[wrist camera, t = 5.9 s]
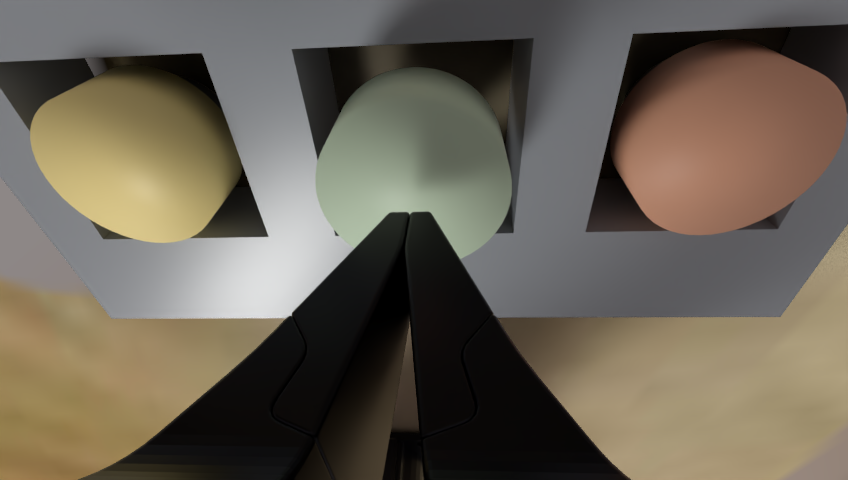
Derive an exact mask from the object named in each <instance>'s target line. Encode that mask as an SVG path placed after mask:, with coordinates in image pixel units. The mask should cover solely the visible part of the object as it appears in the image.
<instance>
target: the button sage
mask: <svg viewBox="0 0 848 480" xmlns="http://www.w3.org/2000/svg"><path fill="white" fill-rule="evenodd" d="M315 187H316V193H317V198H318V201H319V204H320V207H321V209H322V212H323V214H324V216H325V218H326V219H327V221H328V222H329V224H330V225H331V227H332V228H333V229H334V230H335V231H336V233H337V234H338V235H339V236H340V237H341V238H342V239H343V240H344V241H346V242H347V243H348V244H349V245H351V246H352V247H353V248H355V247H356V246H357V245H358V244H359V243H360V242H361V241H362V240H363V239H364V238H365V237H366V236H367V235H368V234H369V233H370V232H371V231H372V230H373V229H374V228H375V227H376V226H377V225H378V224H379V223H380V222H381V221H382V219H383V218H384V217H385V216H386V215H387V214H388V213H390V212H408V213H409V214H411V213H412V212H425V211H428V212H431V213H432V215H433V216H434V218H435V220H436V221H437V223H438V224H439V226H440V228H441V229H442V231H443V232H444V234H445V236H446V237H447V239H448V240H449V242H450V244H451V245H452V247H453V249H454V250H455V252H456V253H457V255H458V257H459V258H460V259H461V258H463V257H465V256H467V255H469V254H471V253H473V252H474V251H476V250H477V249H479V248H480V247H482V246H483V245H484V244H485V243H486V242H487V241H489V240H490V238H491V237H492V236H493V235H494V234H495V233H496V232H497V230H498V229H499V227H500V226H501V224H502V223H503V221H504V219H505V217H506V215H507V212H508V209H509V206H510V201H511V196H512V178H511V171H510V167H509V163H508V159H507V154H506V150H505V146H504V142H503V137H502V133H501V129H500V126H499V123H498V120H497V118H496V116H495V113H494V111H493V110H492V108H491V107H490V105H489V103H488V102H487V101H486V99H485V98H484V97H483V96H482V95H481V94H480V93H479V92H478V91H477V90H476V89H475V88H473V87H472V86H471V85H470V84H468V83H467V82H465V81H464V80H462V79H460V78H458V77H456V76H454V75H452V74H450V73H447V72H444V71H441V70H437V69H432V68H425V67H408V68H399V69H395V70H391V71H387V72H385V73H382V74H380V75H378V76H376V77H374V78H372V79H370V80H369V81H367V82H366V83H364V84H363V85H362V86H361V87H359V88H358V89H357V90H356V91H355V92H354V93H353V94H352V95H351V96H350V98H349V99H348V100H347V102H346V103H345V105H344V106H343V108H342V110H341V112H340V114H339V116H338V118H337V120H336V122H335V124H334V126H333V128H332V130H331V132H330V134H329V136H328V138H327V140H326V143H325V145H324V147H323V149H322V151H321V153H320V156H319V159H318V162H317V166H316V174H315Z"/></svg>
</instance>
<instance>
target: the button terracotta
mask: <svg viewBox="0 0 848 480" xmlns="http://www.w3.org/2000/svg"><path fill="white" fill-rule="evenodd" d="M846 121H847V111H846V104H845V101H844V98H843V96H842V93H841V92H840V90H839V89H838V87H837V86H836V85H835V84H834V83H833V82H832V81H831V80H830V79H829V78H828V77H826V76H825V75H823V74H821V73H819V72H818V71H816V70H813V69H811V68H809V67H807V66H805V65H803V64H800V63H798V62H796V61H794V60H792V59H790V58H788V57H785V56H783V55H781V54H779V53H777V52H775V51H772V50H770V49H768V48H766V47H764V46H762V45H759V44H756V43H753V42H751V41H745V40H738V39H725V40H715V41H710V42H706V43H702V44H699V45H696V46H693V47H690V48H688V49H685V50H683V51H681V52H679V53H677V54H675V55H673V56H672V57H670V58H668V59H666V60H664V61H662V62H660V63H658V64H656V65H655V66H653V67H652V68H650V69H649V70H648V71H646V72H645V73H644V74H643V75H642V76H641V77H640V78H639V79H638V80H637V81H636V82H635V83H634V85H633V86H632V87H631V89H630V90H629V92H628V94H627V95H626V97H625V100H624V102H623V104H622V105H621V107H620V109H619V111H618V113H617V115H616V117H615V120H614V123H613V126H612V130H611V136H610V152H611V158H612V161H613V164H614V166H615V168H616V170H617V172H618V173H619V175H620V176H621V178H622V180H623V181H624V183H625V184H626V186H627V187H628V189H629V191H630V192H631V194H632V195H633V197H634V199H635V200H636V202H637V203H638V205H639V207H640V208H641V210H642V211H643V212H644V214H645V215H646V216H647V217H648V218H649V219H650V220H651V221H652V222H653V223H655V224H657V225H658V226H660V227H662V228H664V229H666V230H669V231H672V232H676V233H680V234H687V235H712V234H718V233H724V232H728V231H732V230H736V229H739V228H742V227H746V226H748V225H751V224H753V223H756V222H758V221H761V220H763V219H765V218H766V217H768V216H770V215H772V214H774V213H776V212H777V211H779V210H781V209H782V208H784V207H786V206H787V205H788V204H790V203H791V202H793V201H794V200H796V199H797V198H798V197H799V196H800V195H802V194H803V193H804V192H805V191H806V190H807V189H808V188H809V187H810V186H812V185H813V184H814V183H815V182H816V181H817V179H818V178H819V177H820V176H821V175H822V174H823V172H824V171H825V170H826V169H827V167H828V166H829V164H830V163H831V161H832V160H833V158H834V157H835V155H836V153H837V151H838V149H839V147H840V144H841V142H842V139H843V137H844V133H845V128H846Z"/></svg>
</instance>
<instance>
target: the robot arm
mask: <svg viewBox="0 0 848 480" xmlns="http://www.w3.org/2000/svg"><path fill="white" fill-rule="evenodd" d="M409 322H410V327H411V339H412V350H413V362H414V373H415V385H416V397H417V408H418V420H419V431H420V434H399V433H390V432H391V426H392V421H393V415H394V409H395V403H396V398H397V392H398V386H399V380H400V375H401V369H402V363H403V357H404V352H405V346H406V340H407V334H408V329H409ZM78 480H631V479H630V478H628V477H627V476H626V475H625V474H623V473H622V472H621V471H620V470H619V469H618V468H617V467H616V466H615V465H613V464H612V463H611V462H610V461H609V460H608V459H607V458H606V457H605V455H604V454H603V453H602V452H601V451H600V450H599V449H598V448H597V446H596V445H595V444H594V443H593V442H592V441H591V439H590V438H589V437H588V436H587V435H586V433H585V432H584V431H583V430H582V429H581V427H580V426H579V425H578V424H577V423H576V421H575V420H574V419H573V418H572V417H571V415H570V414H569V413H568V412H567V411H566V409H565V408H564V407H563V406H562V405H561V403H560V402H559V401H558V400H557V398H556V397H555V396H554V395H553V394H552V392H551V391H550V390H549V389H548V388H547V386H546V385H545V384H544V383H543V382H542V380H541V379H540V378H539V377H538V375H537V374H536V373H535V372H534V370H533V369H532V368H531V367H530V365H529V364H528V363H527V361H526V360H525V359H524V358H523V356H522V355H521V354H520V352H519V351H518V349H517V348H516V346H515V345H514V344H513V342H512V341H511V339H510V338H509V336H508V335H507V333H506V332H505V330H504V329H503V327H502V325H501V324H500V322H499V321H498V319H497V317H496V316H495V315H494V313H493V311H492V310H491V308H490V306H489V305H488V303H487V302H486V300H485V298H484V297H483V295H482V294H481V292H480V290H479V289H478V287H477V286H476V284H475V282H474V281H473V279H472V277H471V276H470V274H469V273H468V271H467V269H466V268H465V266H464V265H463V263H462V261H461V260H460V258H459V257H458V255H457V253H456V252H455V250H454V249H453V247H452V245H451V244H450V242H449V240H448V239H447V237H446V236H445V234H444V232H443V231H442V229H441V228H440V226H439V224H438V223H437V221H436V220H435V218H434V216H433V215H432V213H431V212H428V211H425V212H412V213H411V214H409V213H408V212H390V213H388V214H387V215H386V216H385V217H384V218H383V219H382V221H381V222H380V223H379V224H378V225H377V226H376V227H375V228H374V229H373V230H372V231H371V232H370V233H369V234H368V235H367V236H366V237H365V238H364V239H363V240H362V241H361V242H360V243H359V244H358V245H357V246H356V247H355V248H354V249H353V250H352V251H351V252H350V253H349V254H348V256H347V257H346V258H345V259H344V260H343V261H342V262H341V263H340V264H339V265H338V266H337V267H336V268H335V269H334V270H333V271H332V272H331V273H330V274H329V275H328V276H327V277H326V278H325V279H324V280H323V281H322V282H321V283H320V284H319V285H318V286H317V287H316V288H315V289H314V291H313V292H312V293H311V294H310V295H309V296H308V297H307V298H306V299H305V300H304V301H303V302H302V303H301V304H300V305H299V306H298V307H297V308H296V309H295V310H294V311H293V312H292V316H288V317H287V318H286V319H285V320H284V321H283V322H282V323H281V324H280V325H279V326H278V327H277V328H276V329H275V330H274V331H273V332H272V333H271V334H270V335H269V336H268V337H267V338H266V339H265V340H264V341H263V342H262V343H261V344H260V345H259V346H258V347H257V348H256V349H255V350H254V351H253V352H252V353H251V354H249V355H248V356H247V357H246V358H245V359H244V360H243V361H242V362H240V363H239V364H238V365H237V366H236V367H235V368H234V369H233V370H231V371H230V372H229V373H228V374H227V375H226V376H225V377H223V378H222V379H221V380H220V381H219V382H218V383H216V384H215V385H214V386H213V387H212V388H211V389H209V390H208V391H207V392H206V393H205V394H203V395H202V396H201V397H200V398H199V399H198V400H196V401H195V402H194V403H193V404H192V405H191V406H189V407H188V408H187V409H186V410H185V411H184V412H182V413H181V414H180V415H179V416H178V417H176V418H175V419H174V420H173V421H172V422H171V423H169V424H168V425H167V426H166V427H165V428H164V429H162V430H161V431H160V432H159V433H158V434H156V435H155V436H154V437H153V438H151V439H150V440H149V441H148V442H146V443H145V444H144V445H142V446H141V447H140V448H138V449H137V450H135V451H134V452H132V453H131V454H129V455H128V456H126V457H124V458H123V459H121V460H119V461H118V462H116V463H114V464H112V465H110V466H108V467H106V468H104V469H102V470H100V471H98V472H96V473H93V474H91V475H88V476H86V477H83V478H81V479H78Z"/></svg>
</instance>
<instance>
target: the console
mask: <svg viewBox="0 0 848 480" xmlns="http://www.w3.org/2000/svg"><path fill="white" fill-rule="evenodd" d="M773 27H792V28H791V30H790V32H789V34H788V36H787V39H786V41H785V43H784V45H783V48H782V50H781V52H780V54H781V55H783V56H785V57H788V58H790V59H792V60H794V61H796V62H798V63H800V64H803V65H805V66H807V67H809V68H811V69H813V70H816V71H818V72H819V73H821V74H823V75H825V76H826V77H828V78H829V79H830V80H831V81H832V82H833V83H834V84H835V85H836V86H837V87H838V89H839V90H840V92H841V93H842V96H843V98H844V101H845V104H846V111H847V121H846V128H845V133H844V137H843V139H842V142H841V144H840V147H839V149H838V151H837V153H836V155H835V157H834V158H833V160H832V161H831V163H830V164H829V166H828V167H827V169H826V170H825V171H824V172H823V174H822V175H821V176H820V177H819V178H818V179H817V181H816V182H815V183H814V184H813V185H812V186H810V187H809V188H808V189H807V190H806V191H805V192H804V193H803V194H802V195H800V196H799V197H798V198H797V199H796V200H794V201H793V202H791V203H790V204H788V205H787V206H786V207H784V208H782V209H781V210H779V211H777V212H776V213H774V214H772V215H770V216H768V217H766V218H765V219H763V220H761V221H758V222H756V223H753V224H751V225H748V226H746V227H742V228H739V229H736V230H732V231H728V232H724V233H718V234H712V235H687V234H680V233H676V232H672V231H669V230H666V229H664V228H662V227H660V226H658V225H657V224H655V223H653V222H652V221H651V220H650V219H649V218H648V217H647V216H646V215H645V214H644V212H643V211H642V210H641V208H640V207H639V205H638V203H637V202H636V200H635V199H634V197H633V195H632V194H631V192H630V191H629V189H628V187H627V186H626V184H625V183H624V181H623V180H622V178H610V179H598V178H599V174H600V170H601V165H602V161H603V157H604V153H605V149H606V144H607V140H608V136H609V132H610V128H611V124H612V119H613V115H614V111H615V107H616V103H617V99H618V94H619V90H620V86H621V82H622V78H623V74H624V69H625V65H626V61H627V57H628V53H629V49H630V44H631V40H632V36H633V34H639V33H661V32H684V31H706V30H729V29H751V28H773ZM504 39H514V43H513V56H512V70H511V83H510V96H509V109H508V122H507V135H506V148H505V150H506V154H507V159H508V163H509V167H510V171H511V178H512V196H511V201H510V206H509V209H508V212H507V215H506V217H505V219H504V221H503V223H502V224H501V226H500V227H499V229H498V230H497V232H496V233H495V234H494V235H493V236H492V237H491V238H490V240H489V241H487V242H486V243H485V244H484V245H483V246H482V247H480V248H479V249H477V250H476V251H474V252H473V253H471V254H469V255H467V256H465V257H463V258H461V259H460V260H461V261H462V263H463V265H464V266H465V268H466V269H467V271H468V273H469V274H470V276H471V277H472V279H473V281H474V282H475V284H476V286H477V287H478V289H479V290H480V292H481V294H482V295H483V297H484V298H485V300H486V302H487V303H488V305H489V306H490V308H491V310H492V311H493V313H494V315H495V316H496V317H497V318H508V317H781V315H782V314H783V312H784V311H785V310H786V308H787V307H788V306H789V304H790V303H791V301H792V300H793V299H794V297H795V296H796V295H797V293H798V292H799V290H800V289H801V288H802V286H803V285H804V283H805V282H806V281H807V279H808V278H809V277H810V275H811V274H812V272H813V271H814V270H815V268H816V267H817V266H818V264H819V263H820V261H821V260H822V259H823V257H824V256H825V255H826V253H827V252H828V250H829V249H830V248H831V246H832V245H833V243H834V242H835V241H836V239H837V238H838V237H839V235H840V234H841V232H842V231H843V230H844V228H845V227H846V226H847V224H848V0H0V177H1V178H2V180H3V181H4V182H5V183H6V185H7V186H8V187H9V188H10V190H11V191H12V192H13V193H14V195H15V196H16V197H17V199H18V200H19V201H20V202H21V204H22V205H23V206H24V207H25V209H26V210H27V211H28V213H29V214H30V215H31V216H32V218H33V219H34V220H35V222H36V223H37V224H38V225H39V227H40V228H41V229H42V231H43V232H44V233H45V234H46V235H47V237H48V238H49V239H50V241H51V242H52V243H53V245H54V246H55V247H56V248H57V249H58V251H59V252H60V254H61V255H62V256H63V257H64V259H66V261H67V262H68V264H69V265H70V266H71V268H73V270H74V271H75V273H76V274H77V275H78V276H79V278H80V279H81V280H82V282H83V283H84V284H85V285H86V287H87V288H88V289H89V290H90V292H91V293H92V294H93V296H94V297H95V298H96V299H97V301H98V302H99V303H100V304H101V306H102V307H103V308H104V310H105V311H106V312H107V313H108V315H109V316H110V317H111V318H287V317H288V316H292V312H293V311H294V310H295V309H296V308H297V307H298V306H299V305H300V304H301V303H302V302H303V301H304V300H305V299H306V298H307V297H308V296H309V295H310V294H311V293H312V292H313V291H314V289H315V288H316V287H317V286H318V285H319V284H320V283H321V282H322V281H323V280H324V279H325V278H326V277H327V276H328V275H329V274H330V273H331V272H332V271H333V270H334V269H335V268H336V267H337V266H338V265H339V264H340V263H341V262H342V261H343V260H344V259H345V258H346V257H347V256H348V254H349V253H350V252H351V251H352V250H353V249H354V248H353V247H352V246H351V245H349V244H348V243H347V242H346V241H344V240H343V239H342V238H341V237H340V236H339V235H338V234H337V233H336V231H335V230H334V229H333V228H332V227H331V225H330V224H329V222H328V221H327V219H326V218H325V216H324V214H323V212H322V209H321V207H320V204H319V201H318V198H317V193H316V187H315V174H316V166H317V162H318V159H319V156H320V153H321V151H322V149H323V147H324V145H325V143H326V140H327V138H328V136H329V134H330V132H331V130H332V128H333V126H334V124H335V122H336V120H337V118H338V116H339V109H338V104H337V98H336V93H335V88H334V82H333V77H332V71H331V66H330V61H329V55H328V50H327V47H348V46H370V45H392V44H415V43H437V42H460V41H482V40H504ZM191 53H202V54H203V57H204V60H205V63H206V65H207V68H208V71H209V74H210V76H211V79H212V82H213V85H214V87H215V90H216V93H217V96H218V98H219V101H220V104H221V107H222V110H223V112H224V115H225V118H226V121H227V123H228V126H229V129H230V132H231V134H232V137H233V140H234V143H235V145H236V148H237V151H238V154H239V156H240V159H241V162H242V165H243V167H244V170H245V173H246V176H247V178H248V181H249V184H250V187H234V189H233V190H232V191H231V193H230V194H229V195H228V197H227V198H226V200H225V201H224V202H223V204H222V205H221V206H220V208H219V209H218V210H217V212H216V213H215V215H214V216H213V217H212V219H211V220H210V221H209V223H208V224H207V225H206V226H205V228H204V229H203V230H202V231H200V232H199V233H198V234H196V235H194V236H192V237H191V238H188V239H185V240H182V241H177V242H170V243H154V242H146V241H141V240H136V239H132V238H129V237H126V236H123V235H120V234H118V233H115V232H113V231H111V230H108V229H106V228H104V227H102V226H100V225H99V224H97V223H95V222H93V221H92V220H90V219H89V218H87V217H86V216H84V215H83V214H81V213H80V212H79V211H77V210H76V209H75V208H74V207H72V206H71V205H70V204H69V203H68V202H67V201H66V200H64V199H63V198H62V197H61V196H60V195H59V193H58V192H57V191H56V190H55V189H54V188H53V187H52V185H51V184H50V183H49V182H48V180H47V179H46V177H45V176H44V174H43V173H42V171H41V170H40V168H39V166H38V164H37V162H36V160H35V157H34V154H33V151H32V147H31V141H30V128H31V123H32V120H33V118H34V115H35V113H36V112H37V111H38V109H39V108H40V107H41V106H42V105H43V104H44V103H46V102H47V101H48V100H50V99H52V98H54V97H56V96H58V95H60V94H62V93H64V92H66V91H68V90H70V89H72V88H74V87H76V86H78V85H80V84H82V83H84V82H86V81H88V80H90V79H92V78H94V75H93V73H92V71H91V69H90V68H89V66H88V64H87V62H86V60H85V58H101V57H124V56H146V55H168V54H191Z"/></svg>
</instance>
